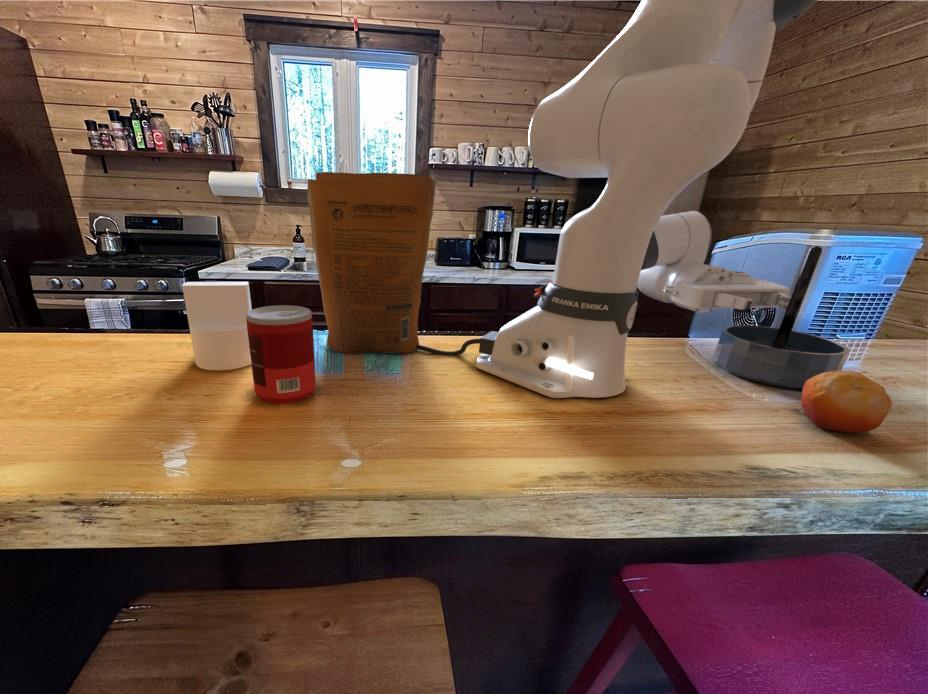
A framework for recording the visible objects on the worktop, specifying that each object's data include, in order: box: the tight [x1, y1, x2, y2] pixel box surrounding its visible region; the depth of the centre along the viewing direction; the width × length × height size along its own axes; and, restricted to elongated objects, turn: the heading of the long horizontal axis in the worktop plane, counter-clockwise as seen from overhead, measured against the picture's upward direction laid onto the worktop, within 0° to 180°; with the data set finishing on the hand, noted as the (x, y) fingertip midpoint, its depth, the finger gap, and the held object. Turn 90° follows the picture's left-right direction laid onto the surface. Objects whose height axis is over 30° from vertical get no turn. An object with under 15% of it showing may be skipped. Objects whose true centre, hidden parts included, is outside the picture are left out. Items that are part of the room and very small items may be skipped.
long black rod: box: [772, 245, 823, 349], centre depth 69 cm, size 5×5×20 cm
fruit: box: [800, 370, 893, 434], centre depth 54 cm, size 8×8×8 cm
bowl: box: [712, 324, 850, 390], centre depth 72 cm, size 16×16×6 cm
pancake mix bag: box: [306, 171, 437, 355], centre depth 70 cm, size 7×19×28 cm, turn 93°
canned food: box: [246, 304, 317, 405], centre depth 56 cm, size 8×8×11 cm
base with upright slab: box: [181, 281, 253, 371], centre depth 66 cm, size 9×9×12 cm
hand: (770, 304), depth 72 cm, fingers open, 8 cm apart
